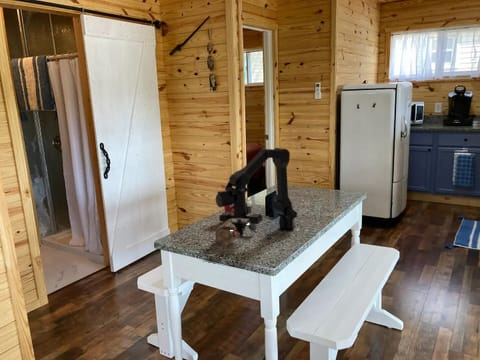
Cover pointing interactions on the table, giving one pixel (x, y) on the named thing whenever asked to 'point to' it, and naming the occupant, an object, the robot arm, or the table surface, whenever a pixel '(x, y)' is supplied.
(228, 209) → the paper cup
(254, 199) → the table surface
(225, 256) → the table surface
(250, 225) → the charcoal knob
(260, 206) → the table surface
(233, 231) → the brick knob
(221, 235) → the mount
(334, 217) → the table surface
